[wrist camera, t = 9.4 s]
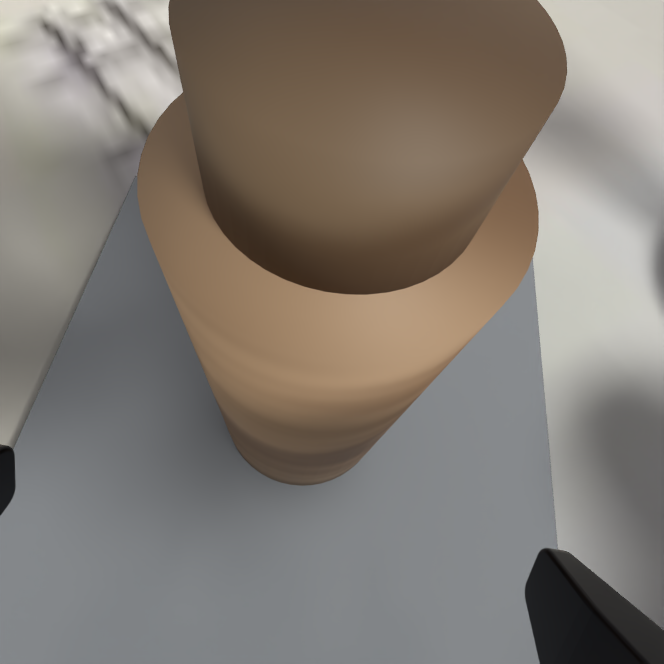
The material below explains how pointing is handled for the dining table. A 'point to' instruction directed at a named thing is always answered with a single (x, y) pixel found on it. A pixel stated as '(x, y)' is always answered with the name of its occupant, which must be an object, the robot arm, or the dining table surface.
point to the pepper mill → (343, 204)
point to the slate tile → (266, 505)
